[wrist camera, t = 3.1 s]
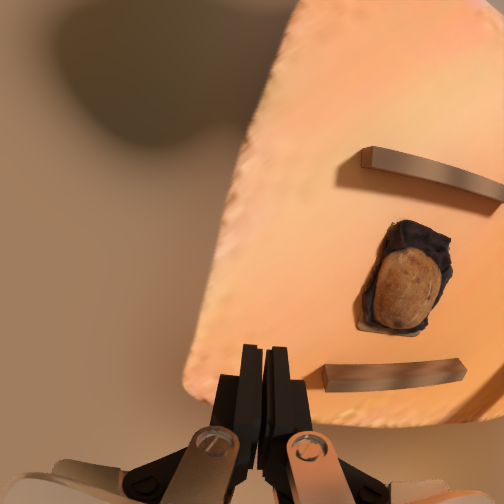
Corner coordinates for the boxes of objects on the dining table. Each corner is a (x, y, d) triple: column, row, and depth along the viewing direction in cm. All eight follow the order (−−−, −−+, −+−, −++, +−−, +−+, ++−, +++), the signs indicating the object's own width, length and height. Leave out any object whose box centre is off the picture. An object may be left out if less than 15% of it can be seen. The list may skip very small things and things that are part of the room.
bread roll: (417, 334, 24) (432, 354, 21) (346, 324, 24) (356, 347, 21) (455, 235, 21) (478, 246, 18) (384, 211, 21) (402, 219, 18)
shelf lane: (504, 188, 19) (519, 191, 17) (453, 368, 25) (462, 380, 22) (362, 148, 20) (373, 145, 17) (321, 375, 25) (325, 392, 23)
